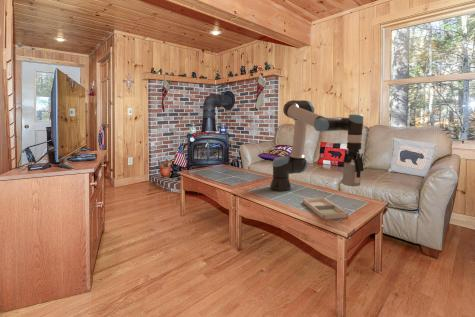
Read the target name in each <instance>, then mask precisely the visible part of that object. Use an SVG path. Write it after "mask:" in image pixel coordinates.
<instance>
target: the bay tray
mask: <svg viewBox="0 0 475 317" xmlns="http://www.w3.org/2000/svg"><path fill="white" fill-rule="evenodd" d="M302 203H303V204H304V205H305V206H306V207H308V208H309V209H310V210H311V211H313V213H315V214H316V215H318V216H319V218H321V219H322V220H335V219H348V218H349V213H348V211H346V210H344V209H342V208H341V207H339V205H337V204H335V203H334V202H332V201H330V200H328V199H327V198H325V197H313V198H303V199H302Z"/></svg>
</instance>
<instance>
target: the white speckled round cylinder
mask: <svg viewBox="0 0 475 317" xmlns="http://www.w3.org/2000/svg"><path fill="white" fill-rule="evenodd" d="M342 171H343V174H342V175H343V176H342V185H344V186H348V187H360V186H361V178H362V171H361V172H360V181H359V183H354V178H355V171H356V168H355V164H354V161H351V162H344V166H343V169H342Z"/></svg>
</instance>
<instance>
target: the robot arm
mask: <svg viewBox="0 0 475 317" xmlns="http://www.w3.org/2000/svg"><path fill="white" fill-rule="evenodd" d="M282 109H283V111H282V112H283V114H284V115H285V117H286V118H290V119H292V120H293V121H294V129H293V137H292V148H291V153H290V154H289V156H278V157H275V158H274V159H273V161H272V180H271V182H270V185H269V186H270V187H269V188H270V189H271V190H272V191H276V192H287V191H291V189H292V185H291V181H290V179H289V178H290V174H291V175H292V174H301V173H304V172H305V171H306V170H307V168H308V165H309V163H308V159H307V158H306V155H305V154H304V151H305V144H306V143H305V142H306V135H307V134H306V133H307V125H309V126H311V127H313V128H314V130H315V131H317V132H333V131H334V132H336V131H337V132H338V131H343V132H344V131H345V132H346V131H347V139H346V141H347V142H346V149H345V150H344V157H343V161H342V166H343V167H344V162H354V164H355V168H356V171H355V178H354V183H359V181H360V182H361V180H360V172H361V173H362V172H364V161H363V160H364V159H363V157H364V156H363V155H364V154H363V152H361V153H360V150H361V149H362V141H363V140H362V139H363V128H364V115H363V114H356V113H355V114H354V113H353V114H348V117H341V116H340V117H325V116H324V115H320V114H317V113H315V106H314V104H313V103H312V102H311V101H310V100H304V99H301V100H299V99H297V100H289V101H287V102H286V103H284V104H283V108H282Z"/></svg>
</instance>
